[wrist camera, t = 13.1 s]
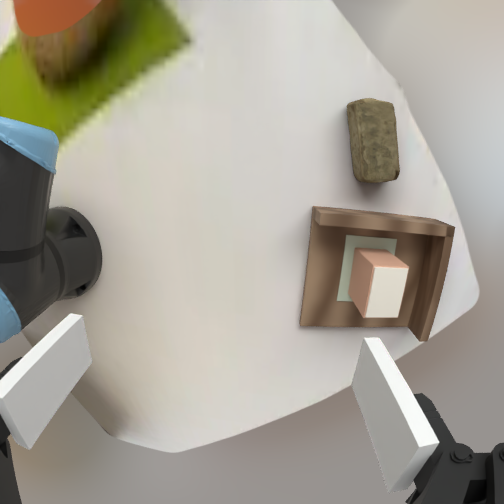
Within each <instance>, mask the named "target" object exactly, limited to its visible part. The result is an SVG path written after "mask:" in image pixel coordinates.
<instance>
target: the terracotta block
mask: <svg viewBox="0 0 504 504" xmlns="http://www.w3.org/2000/svg"><path fill="white" fill-rule="evenodd" d="M408 270H409V266H407V265H406V264H405V263H403V262H402V261H401V260H400V259H398V258H397V257H396V256H394V255H393V254H392V253H390V252H389V251H388V250H386V249H371V248H355V250H354V257H353V264H352V271H351V277H350V284H349V290H348V294H349V296H350V297H351V299H352V300H353V302H354V304H355V305H356V307H357V308H358V310H359V312H360V313H361V315H362V317H363V318H398V315H399V311H400V307H401V303H402V298H403V294H404V289H405V285H406V280H407V275H408Z"/></svg>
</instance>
